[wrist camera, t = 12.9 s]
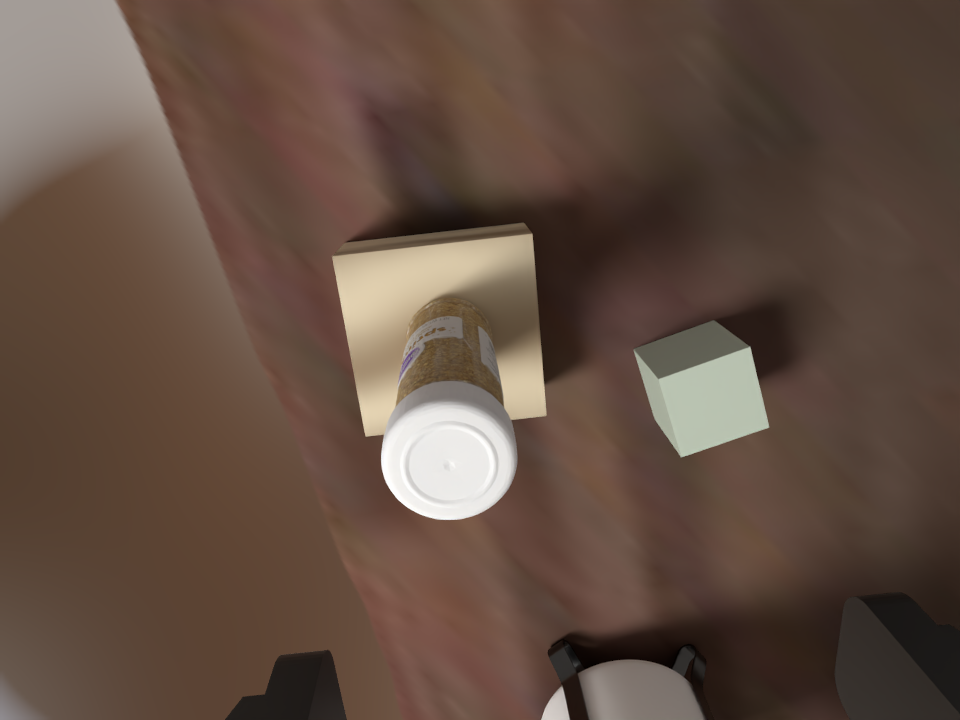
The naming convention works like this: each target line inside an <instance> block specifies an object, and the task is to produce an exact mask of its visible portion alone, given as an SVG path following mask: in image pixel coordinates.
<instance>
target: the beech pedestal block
mask: <svg viewBox="0 0 960 720" xmlns="http://www.w3.org/2000/svg"><path fill="white" fill-rule="evenodd" d="M332 258H333V263H334V269H335V274H336V279H337V285H338V290H339V296H340V301H341V306H342V312H343V317H344V323H345V328H346V333H347V339H348V344H349V350H350V355H351V361H352V366H353V371H354V377H355V382H356V388H357V393H358V398H359V404H360V409H361V415H362V420H363V425H364V431H365V436H374V435H383V434H385V430H386V426H387V423H388V420H389V418H390V416H391V414H392V412H393V410H394V409H395V406H396V400H397V394H398V389H397V387H398V381H399V375H400V371H401V365H402V359H403V354H404V350H405V347H406V333H407V329H408V325H409V322H410V321H411V319H412V317H413V316H414V315H415V314H416V313H417V312H418V311H419V310H420V309H421V308H422V307H423V306H425V305H426V304H428V303H430V302H432V301H435V300H438V299H444V298H457V299H462V300H465V301H468V302H470V303H471V304H472V305H474V306H475V307H476V308H478V309H479V310H480V311H481V312H482V313H483V315H484V316H485V317H486V319H487V320H488V322H489V325H490V327H491V332H492V339H493V340H492V344H493V347H494V350H495V355H496V360H497V364H498V369H499V374H500V380H501V385H502V390H503V396H504V408H505V410H506V412H507V413H508V415H509V417H510V419H511V420H514V419H523V418H531V417H540V416H546V404H545V391H544V378H543V365H542V351H541V338H540V325H539V312H538V299H537V286H536V273H535V260H534V247H533V234H532V232H531V231H530V230H529V229H528V227H527V226H526V225H525V223H516V224H507V225H498V226H489V227H480V228H471V229H463V230H454V231H445V232H436V233H427V234H418V235H409V236H400V237H392V238H383V239H374V240H365V241H356V242H347V243H344V244H343V245H342V246H341V247H340V248H339V249H338V251H337V252H336V253H335V254H334V255H333V256H332Z"/></svg>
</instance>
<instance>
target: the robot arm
mask: <svg viewBox="0 0 960 720" xmlns="http://www.w3.org/2000/svg"><path fill="white" fill-rule="evenodd" d="M835 682H836V687H837V691H838V694H839V697H840V700H841V703H842V705H843V707H844V709H845V711H846V713H847V715H848V716H849V718H850V720H960V631H959V630H957V629H955V628H954V627H952V626H951V625H949V624H948V625H939V626H938V625H937V624H936V623H935V622H934V621H933V620H932V619H931V618H930V617H929V616H928V615H927V614H926V613H925V612H924V611H923V610H922V609H921V608H920V607H919V606H918V605H917V603H916V602H915V601H914V600H912V599H911V598H910V597H909V596H907V595H906V594H904V593H900V592H895V593H886V594H876V595H866V596H857V597H850V598H848V599H847V600H846V602H845V604H844V608H843V615H842V623H841V630H840V637H839V644H838V651H837V658H836V665H835ZM225 720H347V719H346V714H345V710H344V706H343V702H342V697H341V692H340V688H339V683H338V679H337V674H336V670H335V665H334V661H333V657H332V654H331V652H330V651H329V650H324V651H315V652H305V653H296V654H286V655H280V656H279V657H278V659H277V660H276V662H275V665H274V668H273V671H272V674H271V677H270V680H269V683H268V687H267V690H266V693H265V695H256V696H247V697H242V699H241V700H240V701H239V703H238V704H237V705H236V706H235V708H234V709H233V710H232V711H231V713H230V714H229V715H228V717H227V718H226V719H225Z"/></svg>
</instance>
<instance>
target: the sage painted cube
mask: <svg viewBox="0 0 960 720" xmlns="http://www.w3.org/2000/svg"><path fill="white" fill-rule="evenodd" d="M634 353H635V356H636V359H637V362H638V366H639V369H640V372H641V376H642V379H643V382H644V385H645V389H646V392H647V395H648V399H649V402H650V405H651V408H652V412H653V415H654V418H655V420H656V422H657V423H658V425H659V426H660V428H661V429H662V430H663V432H664V433H665V435H666V436H667V438H668V439H669V440H670V442H671V443H672V445H673V446H674V448H675V449H676V450H677V452H678V453H679V455H680V456H681V457H684V456H687V455H690V454H693V453H696V452H699V451H702V450H704V449H707V448H710V447H713V446H716V445H719V444H722V443H725V442H728V441H731V440H734V439H737V438H740V437H742V436H745V435H748V434H751V433H754V432H757V431H760V430H763V429H766V428H769V425H768V420H767V416H766V412H765V408H764V403H763V399H762V395H761V391H760V386H759V382H758V378H757V373H756V369H755V365H754V361H753V356H752V352H751V348H750V346H748V345H747V344H746V343H744V342H743V341H742V340H740V339H739V338H738V337H736V336H735V335H733V334H732V333H731V332H729V331H728V330H727V329H725V328H724V327H723V326H721V325H720V324H718V323H717V322H716V321H714V320H713V321H710V322H707V323H704V324H702V325H699V326H696V327H693V328H690V329H688V330H685V331H682V332H679V333H676V334H674V335H671V336H668V337H665V338H663V339H660V340H657V341H654V342H651V343H649V344H646V345H643V346H640V347H638V348H635V349H634Z"/></svg>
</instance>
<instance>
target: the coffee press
mask: <svg viewBox="0 0 960 720" xmlns="http://www.w3.org/2000/svg"><path fill="white" fill-rule="evenodd" d="M548 655H549V658H550V660H551V662H552V664H553V666H554V668H555V670H556V672H557V674H558V676H559V679H560V681H561V684H562V686H561V687H560V688H559V689H558V690H557V691H556V692H555V694H554V695H553V696H552V698H551V699H550V701H549V702H548V704H547V706H546V708H545V710H544V713H543V716H542V719H541V720H715V719H714V717H713V715H712V712H711V710H710V708H709V705H708V703H707V701H706V698H705V696H704V692H703V680H704V674H705V669H706V659H705V657H704V656H703V655H702V654H701V653H700V652H699V651H698V650H697V649H696V648H695V647H694V646H693V645H691V644H686V645H684V646H682V647H681V648H680V649H679V651H678V653H677V656H676V658H675V661H674V663H673V666H672V667H671V669H670V668H668V667H665V666H663V665H660V664H657V663H654V662H649V661H644V660H615V661H610V662H605V663H601V664H598V665H595V666H592V667H590V668H588V669H586V668H585V667H584V666H583V665H582V663H581V662H580V660H579V658H578V657H577V655H576V653H575V652H574V650H573V648H572V647H571V645H570V644H569V643H568V642H567V641H566V640H564V639H563V640H562V641H560V642H559V643H557V644H556V645H554V646H553V647H551V648H550V649H549V650H548ZM693 658H694V660H693V665H692V670H691V682H692V684H691V683H690V682H689V681H688V680H687V679H685V678H684V675H685V673H686V670H687V668H688V665H689V662H690V661H691V659H693Z"/></svg>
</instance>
